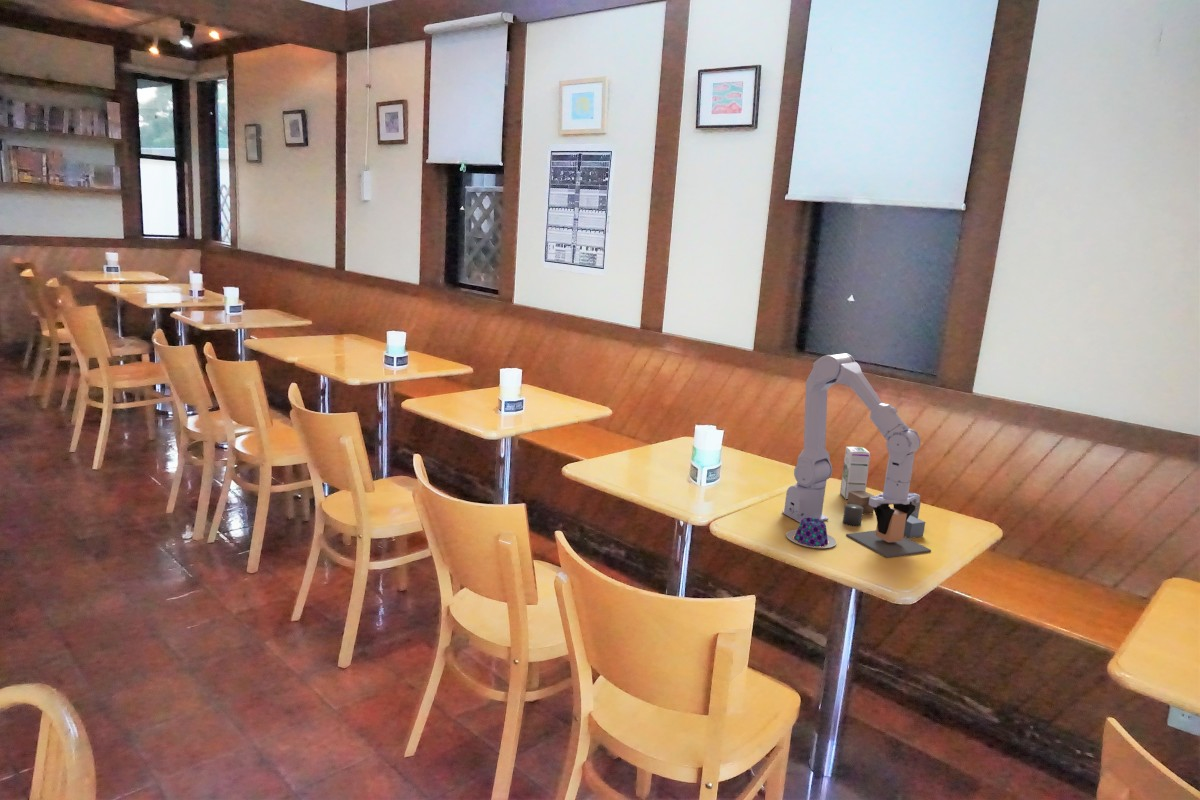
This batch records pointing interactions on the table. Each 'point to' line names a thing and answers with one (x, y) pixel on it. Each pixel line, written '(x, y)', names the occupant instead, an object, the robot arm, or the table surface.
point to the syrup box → (854, 470)
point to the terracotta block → (894, 527)
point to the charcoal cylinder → (852, 515)
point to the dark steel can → (916, 509)
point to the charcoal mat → (888, 545)
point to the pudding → (811, 534)
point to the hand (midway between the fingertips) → (889, 531)
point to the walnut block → (861, 500)
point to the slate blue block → (914, 527)
